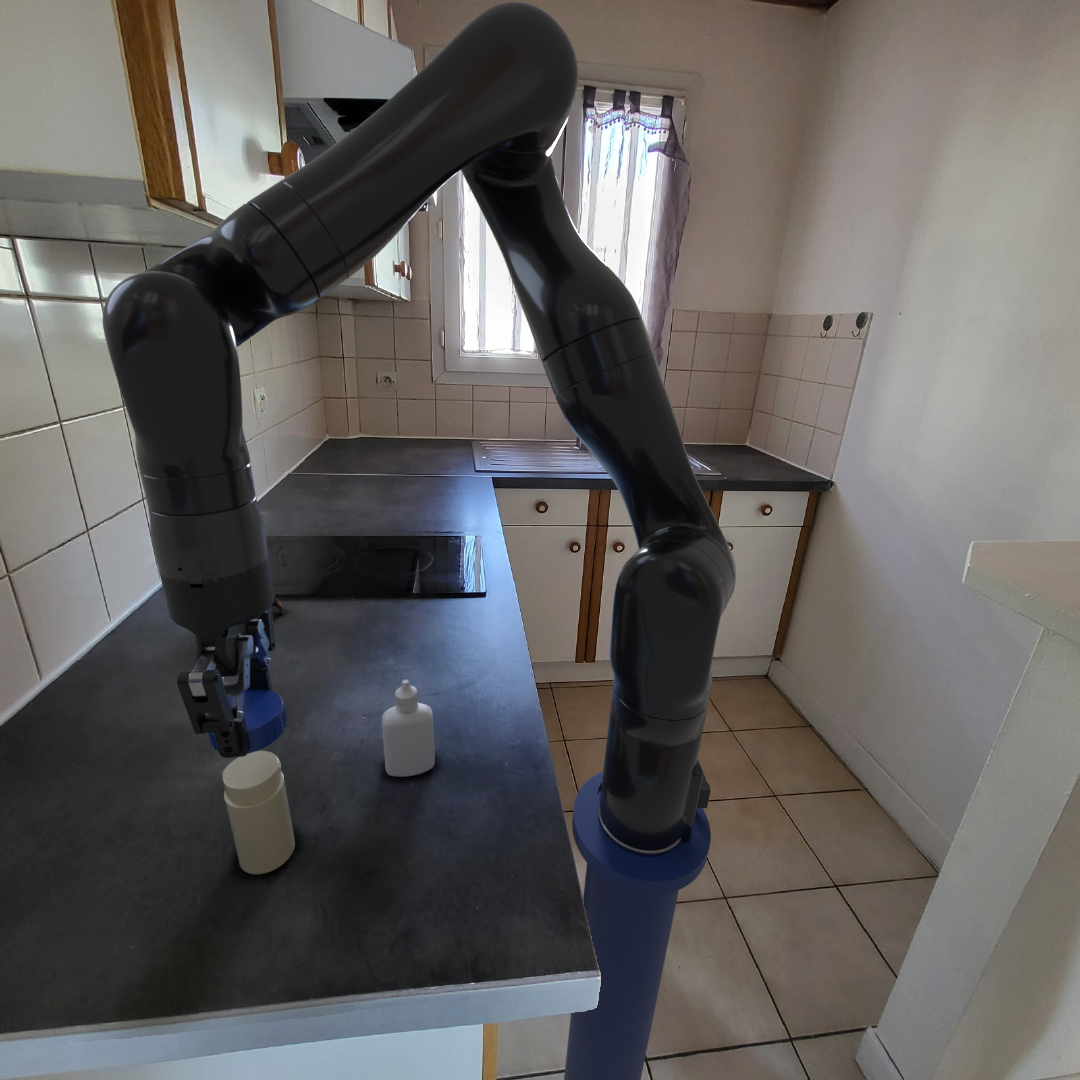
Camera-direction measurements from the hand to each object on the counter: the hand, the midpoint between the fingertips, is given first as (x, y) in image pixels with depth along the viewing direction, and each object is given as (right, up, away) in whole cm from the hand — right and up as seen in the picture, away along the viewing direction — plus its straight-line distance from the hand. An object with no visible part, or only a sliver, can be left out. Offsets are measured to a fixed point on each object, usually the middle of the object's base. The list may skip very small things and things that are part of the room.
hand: (248, 726), depth 50 cm
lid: (0, +1, -1) cm, 1 cm away
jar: (-1, -14, +5) cm, 15 cm away
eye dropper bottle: (+11, -10, +16) cm, 22 cm away
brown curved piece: (-23, +3, +44) cm, 50 cm away
